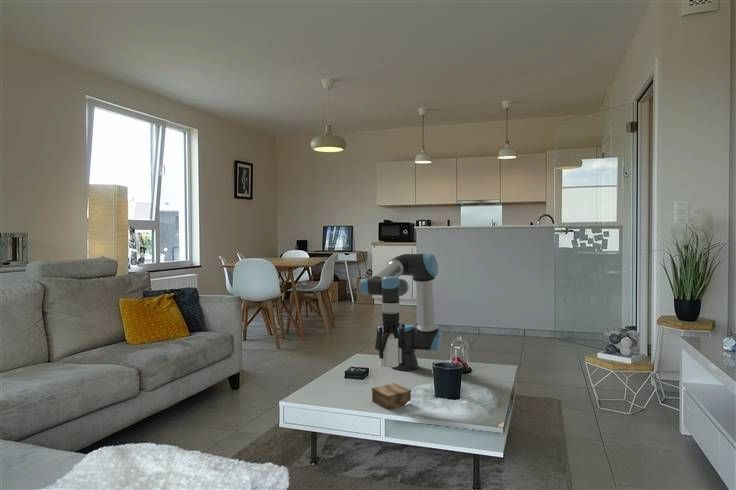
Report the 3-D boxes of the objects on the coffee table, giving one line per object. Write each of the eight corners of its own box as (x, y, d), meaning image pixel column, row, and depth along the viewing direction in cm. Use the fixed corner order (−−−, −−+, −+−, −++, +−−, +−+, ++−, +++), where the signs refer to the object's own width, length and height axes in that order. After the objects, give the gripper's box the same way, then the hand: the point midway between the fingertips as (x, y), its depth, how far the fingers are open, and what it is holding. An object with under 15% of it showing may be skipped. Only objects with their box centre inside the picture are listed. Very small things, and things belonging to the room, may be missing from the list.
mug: (403, 368, 205) (403, 340, 205) (384, 370, 203) (384, 341, 203) (395, 361, 217) (395, 335, 217) (377, 363, 215) (377, 336, 215)
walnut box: (394, 396, 219) (394, 383, 219) (411, 404, 209) (411, 390, 209) (371, 401, 212) (371, 388, 212) (388, 410, 202) (388, 395, 202)
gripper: (404, 309, 219) (404, 359, 219) (366, 313, 207) (366, 366, 208) (414, 311, 213) (415, 362, 213) (376, 315, 201) (376, 369, 201)
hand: (391, 364), depth 210 cm, fingers closed on mug, 8 cm apart
